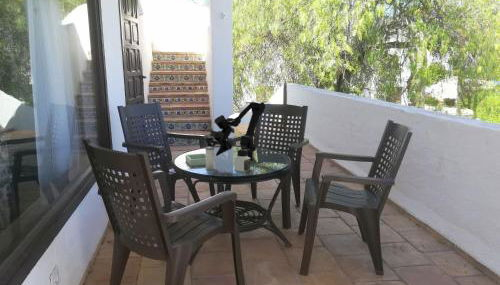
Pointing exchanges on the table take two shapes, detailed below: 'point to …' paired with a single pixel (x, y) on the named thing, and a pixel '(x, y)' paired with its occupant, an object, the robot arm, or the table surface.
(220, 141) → the robot arm
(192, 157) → the tote
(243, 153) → the medicine bottle
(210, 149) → the canister
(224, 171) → the table surface
